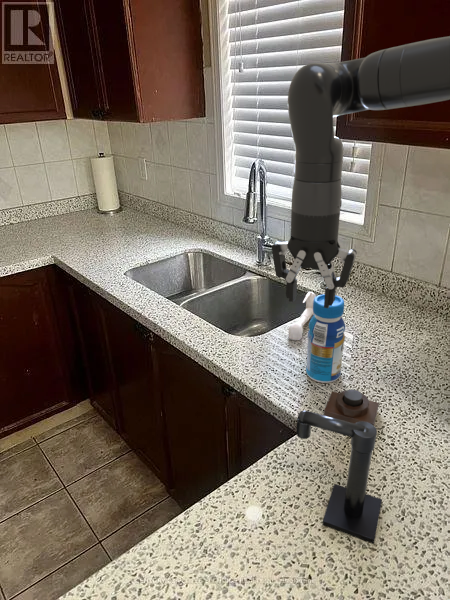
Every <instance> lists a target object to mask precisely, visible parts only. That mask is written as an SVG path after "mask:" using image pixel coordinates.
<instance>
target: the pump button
mask: <svg viewBox="0 0 450 600" xmlns="http://www.w3.org/2000/svg"><path fill="white" fill-rule="evenodd" d="M344 391H345V390H344ZM360 392H361V391H359V390H357V389H354V388H353V389H351V388H350V389H347V391H345V393H344V403H345V404H347V405H349V406H353V407H357V406H360V405H361V403H362V394H363V393H362V392H361V393H362V394H361V393H360Z"/></svg>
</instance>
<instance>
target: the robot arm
mask: <svg viewBox="0 0 450 600" xmlns="http://www.w3.org/2000/svg"><path fill="white" fill-rule="evenodd" d="M449 100H450V35H449V36H443V37H442V36H441V37H437V38H436V37H435V38H430V39H425V40H420V41H415V42H411V43H405V44H402V45H398V46H393V47H389V48H384V49H379V50H378V51H375V52H372V53H370V54H368V55H367V56H365V57H361V58H355V59H351V60H345V61H339V62H337V61H336V62H312V63H307V64H305V65H303V66H301V67H299V69H298V70H297V71H296V72H295V73H294V75H293V77H292V79H291V81H290V84H289V88H288V93H287V111H288V118H289V123H290V124H289V125H290V129H291V136H292V140H293V143H294V149H295V155H294V173H293V174H294V179H293V185H292V191H291V212H290V214H291V215H290V238H289V240H288V241H282V240H280V239H278V240H277V241H276V242H275V243H273V244H272V245H271V247H270V249H271V254H272V260H273V267H274V272H275V276H276V277H277V278H278V279H280V278H281V279H283V280H284V281H285V283H286V284H285V285H286V286H285V287H286V288H285V296H286V299H288V302H291V303H294V302H295V301H296V299H297V293H298V278H297V275H298V274H299V273H300V270H301V269H312V270H314V271H319V272H320V275H321V277H322V278H323V280H324V283H325V285H326V287H325V289H324V294H325V299H324V308H329V306H332V304H333V302H334V301H335V295H336V294H337V293H336V291H337V288H342V289H343V288H345V287H346V285H347V283H348V281H349V279H350V276H351V273H352V270H353V266H354V263H355V260H356V257H357V254H358V252H357V250H356V249H355V248H351V249H350V250H349V249H346V248H342V247H341V245H340V243H339V228H340V218H341V209H342V208H341V207H342V202H343V201H342V191H343V190H342V174H343V163H344V144H343V142H342V140H341V138H339V137H337V136H335V128H334V117H338V116H343V115H348V114H349V115H350V114H354V113H359V112H364V111H369V110H371V111H384V110H386V111H387V110H393V109H400V108H408V107H414V106H422V105H428V104H433V103H439V102H445V101H449ZM287 250H288V251H289V253H290V255H291V256H292V258H293V259H294V260H293V262H292V265H291V267H290V269H288V268H287V261H286V253H287V252H288V251H287ZM337 256H339V258H340V261H339V262H340V263H341V264H342V265H343V266H342V269H341V273H340V276H338V277H337V274H336V272H335V266H334V264H333V260H334V259H335V258H336V257H337Z"/></svg>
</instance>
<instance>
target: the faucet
mask: <svg viewBox="0 0 450 600" xmlns="http://www.w3.org/2000/svg"><path fill="white" fill-rule="evenodd" d="M316 296H317V295H316V294H315V292H313V291H308V292H307V293H306V294H305V297H304V299H303V301H302V304H304V303H305V310H304V311H303V312H302V313H301V315H300V317H299V319H298V320H297V322H293V323H291V324H290V325H289V326H288V328H287V329H288V330H287V331H288V338H289V339H290V340H292V341H300V340H302V338H303V333H304V325H305V324H306V323H309V321H310V320H311V318H312V317H313V315H314V313H313V301H314V298H315V297H316Z"/></svg>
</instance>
